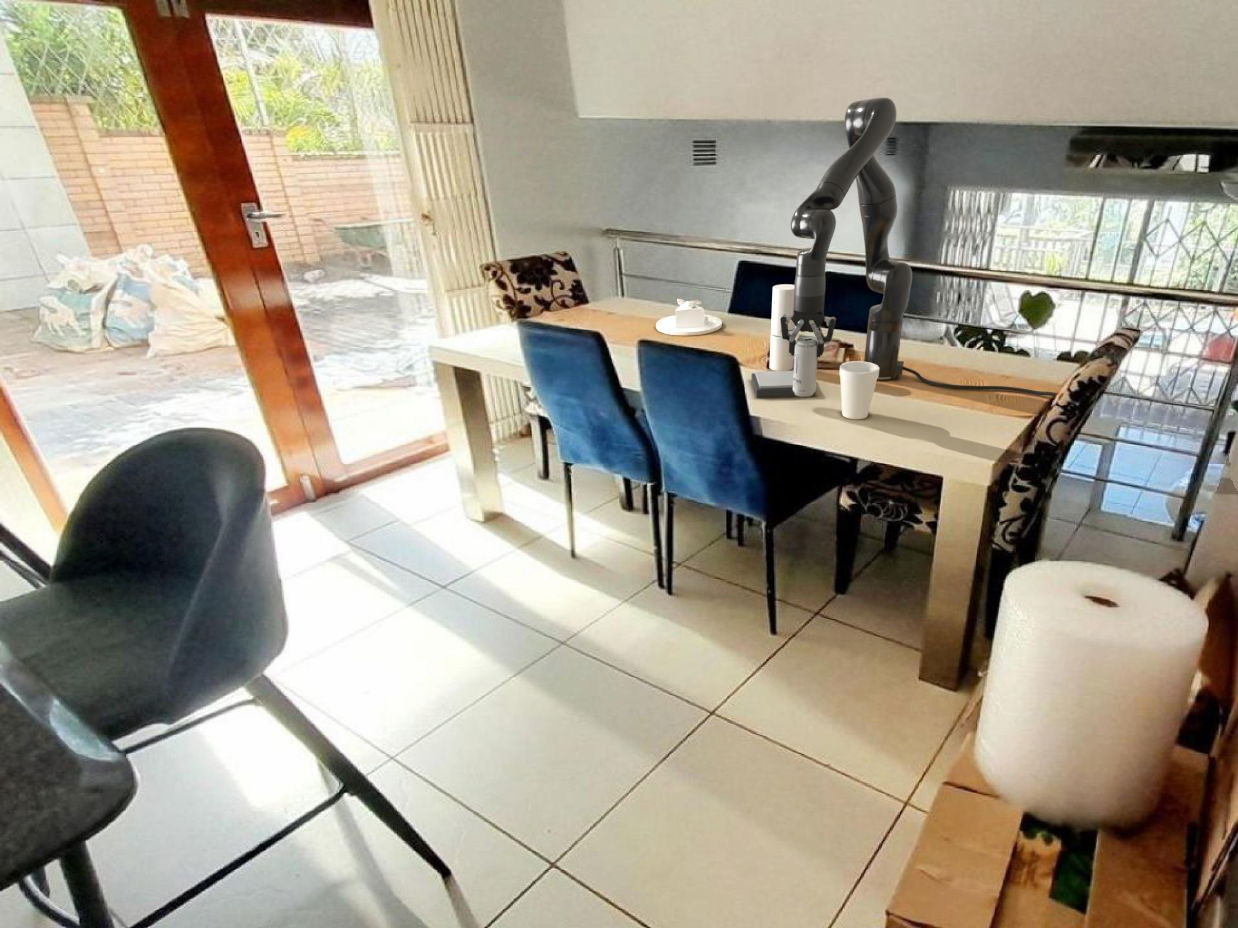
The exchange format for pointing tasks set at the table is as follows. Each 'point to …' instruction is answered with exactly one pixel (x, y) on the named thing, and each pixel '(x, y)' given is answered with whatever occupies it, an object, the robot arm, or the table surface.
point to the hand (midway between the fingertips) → (806, 355)
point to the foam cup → (857, 388)
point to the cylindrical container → (780, 346)
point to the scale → (773, 384)
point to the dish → (689, 320)
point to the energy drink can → (805, 366)
